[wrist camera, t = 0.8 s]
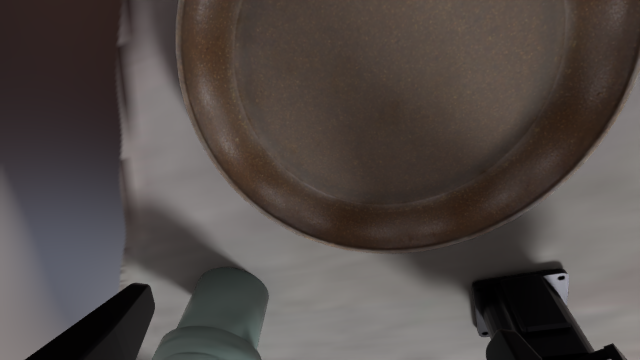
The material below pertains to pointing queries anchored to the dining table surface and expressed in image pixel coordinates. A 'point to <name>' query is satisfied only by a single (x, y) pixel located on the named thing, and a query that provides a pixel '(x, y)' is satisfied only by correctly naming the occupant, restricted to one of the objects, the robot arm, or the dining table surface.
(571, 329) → the robot arm
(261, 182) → the plant saucer
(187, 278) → the dining table surface
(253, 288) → the glazed flower pot
